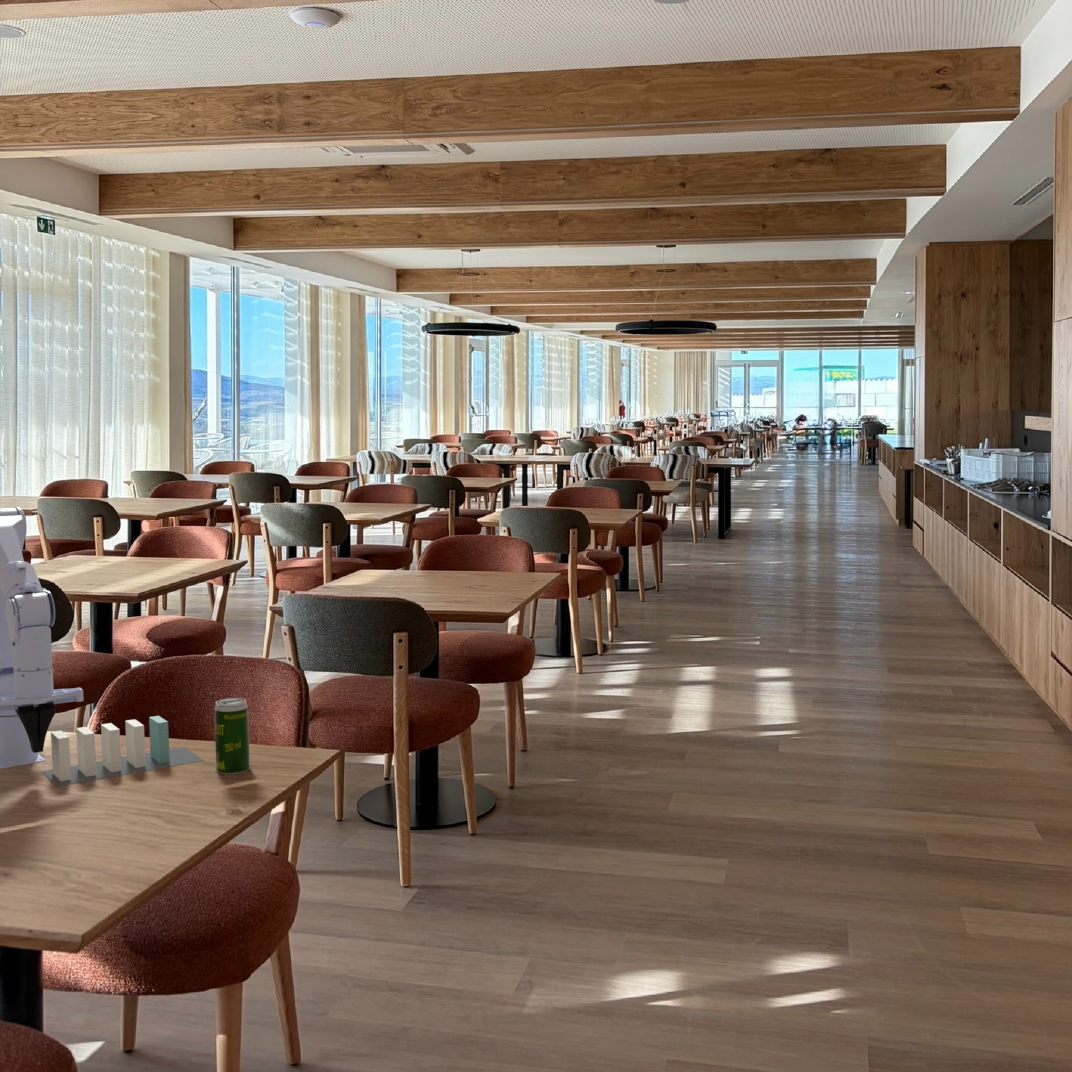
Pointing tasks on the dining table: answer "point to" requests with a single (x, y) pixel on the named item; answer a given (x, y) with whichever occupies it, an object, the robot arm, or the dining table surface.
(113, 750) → the ivory domino
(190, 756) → the charcoal mat
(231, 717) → the green drink can
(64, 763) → the ivory domino
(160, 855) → the dining table surface
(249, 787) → the dining table surface
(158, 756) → the teal domino
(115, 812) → the dining table surface
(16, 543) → the robot arm
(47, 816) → the dining table surface
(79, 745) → the ivory domino
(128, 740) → the ivory domino
